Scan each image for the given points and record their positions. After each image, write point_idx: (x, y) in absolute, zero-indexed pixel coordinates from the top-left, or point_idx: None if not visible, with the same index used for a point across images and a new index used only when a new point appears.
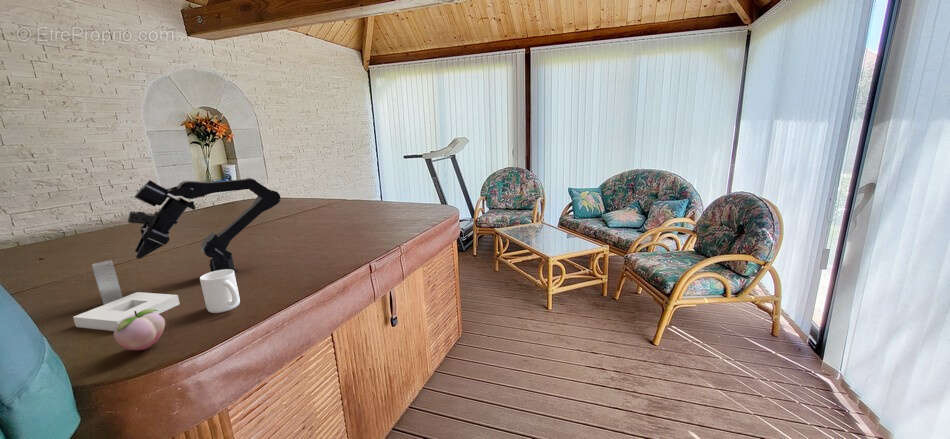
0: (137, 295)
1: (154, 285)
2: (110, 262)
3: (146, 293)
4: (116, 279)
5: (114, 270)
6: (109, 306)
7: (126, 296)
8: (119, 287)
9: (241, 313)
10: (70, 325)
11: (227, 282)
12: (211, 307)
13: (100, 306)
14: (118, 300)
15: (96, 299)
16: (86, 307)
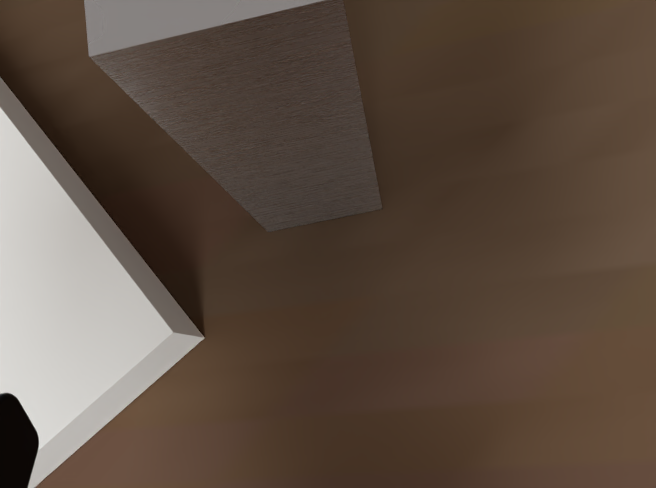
0: (64, 346)
1: (601, 412)
2: (164, 15)
3: (58, 413)
4: (199, 156)
5: (151, 112)
6: None
7: (111, 266)
8: (229, 192)
9: None
10: (42, 23)
11: None
12: None
13: (12, 130)
14: (54, 224)
15: (509, 31)
16: (348, 15)
